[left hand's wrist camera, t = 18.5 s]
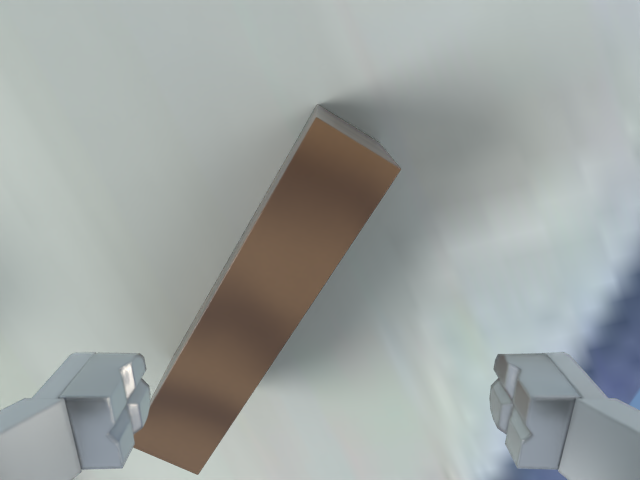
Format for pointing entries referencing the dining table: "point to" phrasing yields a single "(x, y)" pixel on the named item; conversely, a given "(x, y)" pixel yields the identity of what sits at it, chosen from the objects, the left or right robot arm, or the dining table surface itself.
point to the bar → (266, 286)
